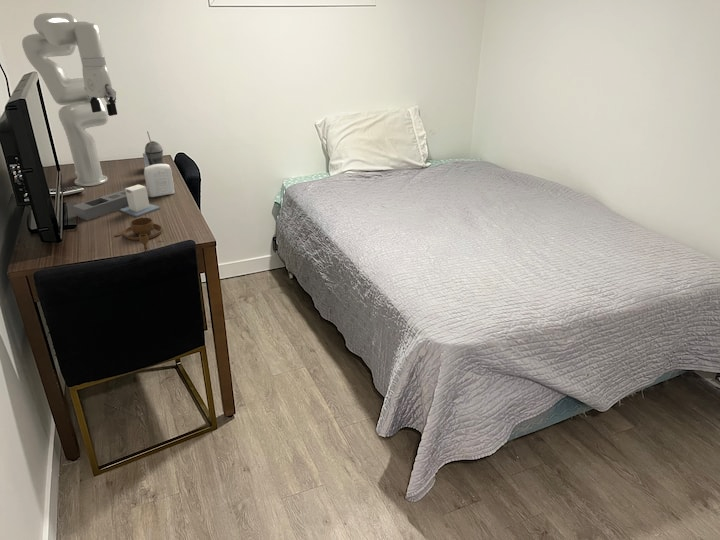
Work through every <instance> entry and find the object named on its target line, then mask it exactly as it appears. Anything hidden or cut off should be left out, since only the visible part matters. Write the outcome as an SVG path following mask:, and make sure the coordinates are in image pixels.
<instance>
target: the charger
mask: <svg viewBox="0 0 720 540" xmlns="http://www.w3.org/2000/svg"><path fill="white" fill-rule="evenodd" d="M124 190H125V191H126V196H127V200H128V205H129V206H128V207H129V209H130V210H133V211H136V212H138V211H141V210H144V209H146V208H149V207H150V205H149V204H150V201H149V196H148V192H147V186H146V185H141V184H138V183H137V184H136V185H132V186H129V187H125V188H124Z"/></svg>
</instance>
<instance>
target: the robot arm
mask: <svg viewBox="0 0 720 540" xmlns="http://www.w3.org/2000/svg"><path fill="white" fill-rule="evenodd" d="M33 26H34V29H35V31H36V32H37V33H32V34H27V35H26V36H24V37H23V39H22V41H21V44H22V45H21V46H22V49H23V52H24V54H25V57H26V59H27V60H28V62H29V63H30V65H31V66H32V67H33V68H34V69H35V71H37V73H38V74H39V76H40V77H41V78H42V80H43V83H44V84H45V86H46V88H47V90H48V91H49V94H50V95H51V97H52V99H53V100H54V102H55V103H56V104H58V105H60V106H62V107H60V109H59V110H58V119H59V121H60V123H61V126H62V127H63V130H64V133H65V135H66V138H67V139H66V140H67V143H68V146H69V149H70V150H69V151H70V154H71V156H72V157H71V158H72V161H73V165H74V169H75V171H74V174H75V175H76V177H77V178H76V179H74V184H75V185H76V186H79V187H92V186H98V185H102V184H105V183H106V182H107V181H108V176H107V175H104V174H103V171H102V167H101V163H100V158H99V153H98V150H97V145H96V140H95V139H94V137H93V136H92V134H90V132H88V131H86V129H89V128H95V127H101V126H104V125H106V124H107V123H108V120H109V117H113V116H117V115H118V110H117V106H116V103H117V101H116V100H117V92H116V91H115V90H114V89H113V86H112V82H111V78H110V74H109V71H108V69H107V64H106V63H107V62H106V58H105V54H104V48H103V43H102V39H101V33H100V29H99V26H98V25H97V24H95V23H91V22H87V21H77V19H76V18H75V17H74V15H72V14H71V13H67V12H45V13H44V12H43V13H40V14H38V15H37V16H35V17H34V19H33ZM76 47H77V48H78V49H77V50H78V53H79V57H80V61H81V66H82V68H81V69H82V70H81V71H82V77H81V78H69V77H68V76H67V74H66V73H65V70H64V69H63V67H61V66H60V65H59V63H57V62H55V61H54V60H51V59H50V57H51V58H53V57H66V56H67V57H68V56H71V55H73V53H74V52H75V50H76ZM101 99H103V100H104V101H105V102H106V104H105V105H106V108H105V105H104V103H103V102H102V100H101Z"/></svg>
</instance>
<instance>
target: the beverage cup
mask: <svg viewBox="0 0 720 540" xmlns="http://www.w3.org/2000/svg"><path fill="white" fill-rule="evenodd" d="M146 133H147V136H148V139H149V141H148V142H147V143H146V145H145V148H144V152H145V153H146V156H147V158H148V162H149V165H154V164H164V160H163V159H164V157H163V155H164V149H163V148H162V147H163V146H162V145H161V144H160V143H158V142H157V141H153V140H152V139H151V137H150V133H149V131H147V132H146Z"/></svg>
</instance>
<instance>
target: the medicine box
mask: <svg viewBox="0 0 720 540" xmlns="http://www.w3.org/2000/svg"><path fill="white" fill-rule="evenodd" d="M142 156H143V162H144V168H146V167H148V166H150V165H149V162H148V158H147V156H146V153H145V151H144V152H143V153H142Z"/></svg>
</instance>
